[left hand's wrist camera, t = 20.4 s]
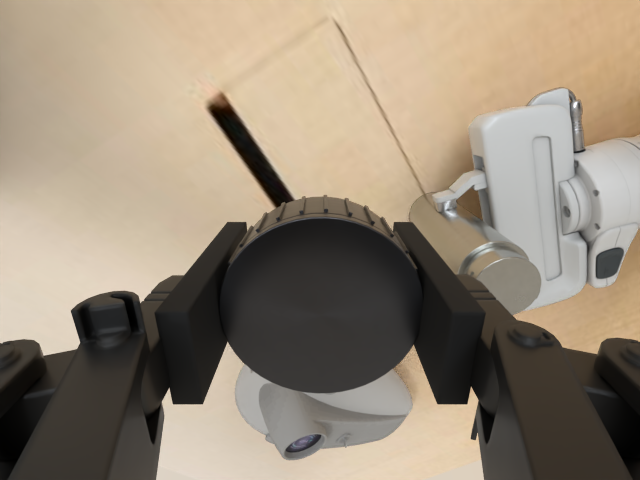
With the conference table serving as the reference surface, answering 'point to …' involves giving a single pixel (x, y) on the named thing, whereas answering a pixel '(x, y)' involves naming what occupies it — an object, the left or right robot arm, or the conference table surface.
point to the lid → (321, 296)
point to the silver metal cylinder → (479, 252)
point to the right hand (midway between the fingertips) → (441, 235)
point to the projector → (321, 413)
